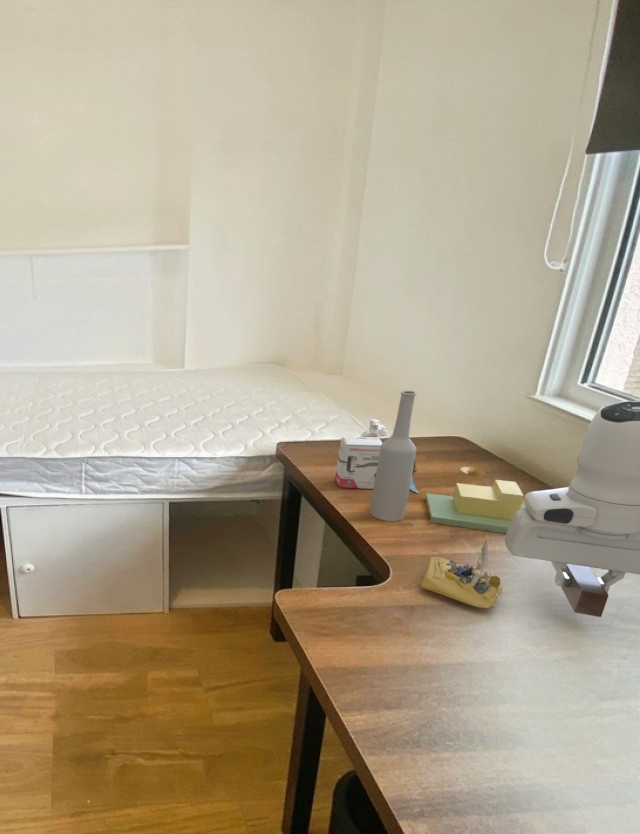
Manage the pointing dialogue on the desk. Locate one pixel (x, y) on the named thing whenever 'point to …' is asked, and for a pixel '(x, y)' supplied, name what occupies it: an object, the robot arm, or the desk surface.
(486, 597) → the toy boat
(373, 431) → the koala figurine
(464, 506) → the butter
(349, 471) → the ink box
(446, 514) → the butter dish
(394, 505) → the bottle
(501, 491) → the butter pat
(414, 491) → the knife
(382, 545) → the desk surface
